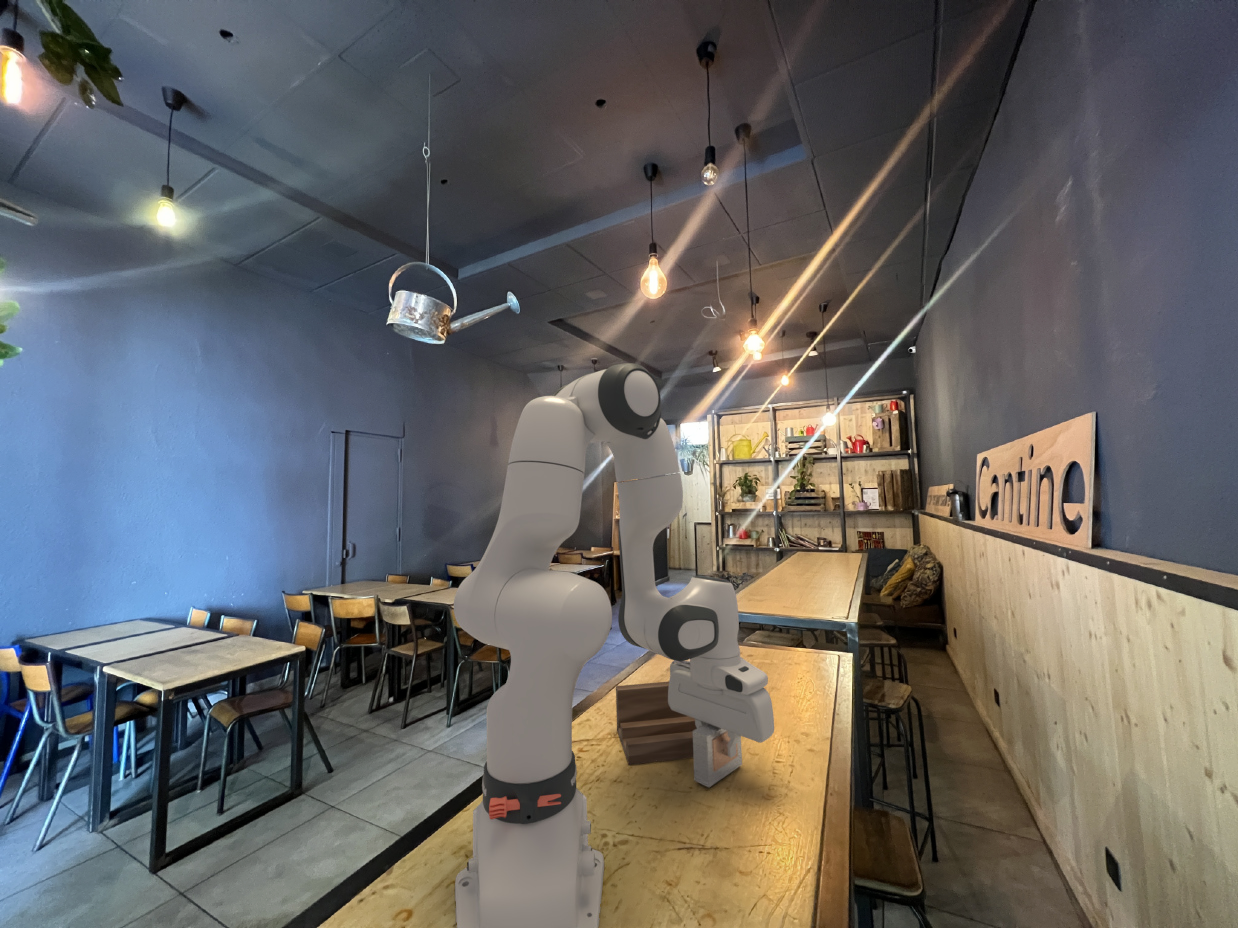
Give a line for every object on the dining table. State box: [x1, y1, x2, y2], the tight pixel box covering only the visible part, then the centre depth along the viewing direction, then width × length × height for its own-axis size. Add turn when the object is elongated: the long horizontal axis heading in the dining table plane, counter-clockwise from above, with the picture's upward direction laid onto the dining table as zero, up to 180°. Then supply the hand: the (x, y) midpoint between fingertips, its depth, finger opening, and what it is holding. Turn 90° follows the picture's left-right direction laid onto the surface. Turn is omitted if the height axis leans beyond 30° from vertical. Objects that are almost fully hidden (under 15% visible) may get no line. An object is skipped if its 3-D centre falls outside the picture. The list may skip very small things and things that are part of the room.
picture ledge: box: [615, 680, 697, 766], centre depth 96 cm, size 14×18×9 cm
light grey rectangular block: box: [693, 723, 743, 788], centre depth 84 cm, size 3×10×8 cm, turn 134°
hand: (718, 750), depth 84 cm, fingers closed on light grey rectangular block, 3 cm apart
